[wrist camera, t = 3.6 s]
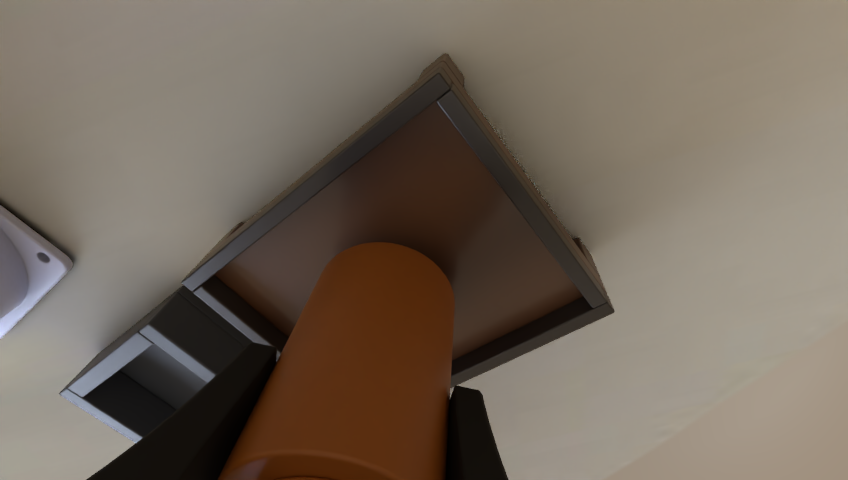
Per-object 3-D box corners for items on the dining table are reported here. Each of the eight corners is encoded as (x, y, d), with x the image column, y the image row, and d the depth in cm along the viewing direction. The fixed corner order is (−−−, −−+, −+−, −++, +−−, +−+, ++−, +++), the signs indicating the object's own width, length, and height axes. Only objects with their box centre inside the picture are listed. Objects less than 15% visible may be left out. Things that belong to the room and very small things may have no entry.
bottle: (290, 285, 14) (79, 647, 7) (393, 214, 13) (269, 590, 5) (380, 367, 16) (293, 737, 8) (482, 313, 14) (494, 717, 6)
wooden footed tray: (226, 233, 18) (179, 282, 15) (446, 51, 13) (439, 71, 11) (375, 368, 21) (360, 430, 18) (591, 255, 17) (615, 313, 14)
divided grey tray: (303, 496, 27) (289, 541, 25) (97, 354, 22) (57, 394, 20) (397, 459, 24) (389, 505, 22) (183, 284, 19) (147, 322, 17)
